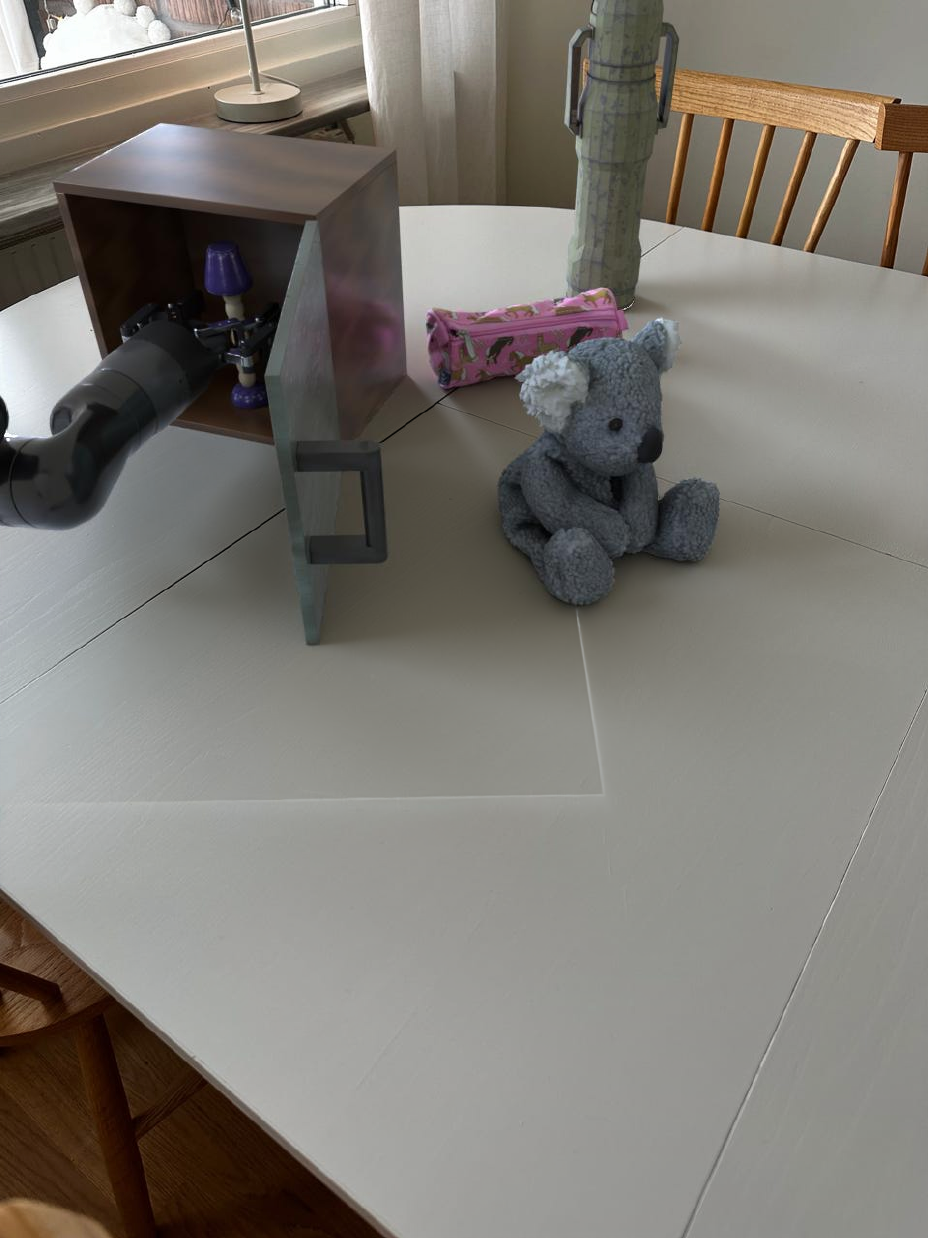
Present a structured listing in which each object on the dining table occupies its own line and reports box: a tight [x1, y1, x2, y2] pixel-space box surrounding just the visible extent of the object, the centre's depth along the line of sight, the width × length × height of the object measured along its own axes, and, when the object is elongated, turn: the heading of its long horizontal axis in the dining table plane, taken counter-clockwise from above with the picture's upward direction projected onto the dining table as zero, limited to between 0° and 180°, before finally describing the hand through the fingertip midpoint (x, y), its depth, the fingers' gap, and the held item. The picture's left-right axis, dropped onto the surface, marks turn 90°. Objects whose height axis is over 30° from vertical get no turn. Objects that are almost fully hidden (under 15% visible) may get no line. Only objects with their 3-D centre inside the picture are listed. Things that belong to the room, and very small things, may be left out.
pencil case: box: [425, 288, 629, 390], centre depth 107 cm, size 21×9×9 cm, turn 105°
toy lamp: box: [205, 240, 269, 409], centre depth 98 cm, size 5×5×17 cm
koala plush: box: [496, 315, 721, 606], centre depth 82 cm, size 17×18×20 cm
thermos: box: [563, 0, 680, 310], centre depth 112 cm, size 9×12×35 cm
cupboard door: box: [264, 221, 389, 646], centre depth 79 cm, size 7×26×24 cm, turn 1°
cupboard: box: [51, 122, 408, 447], centre depth 99 cm, size 18×26×24 cm
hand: (238, 304), depth 98 cm, fingers open, 8 cm apart
